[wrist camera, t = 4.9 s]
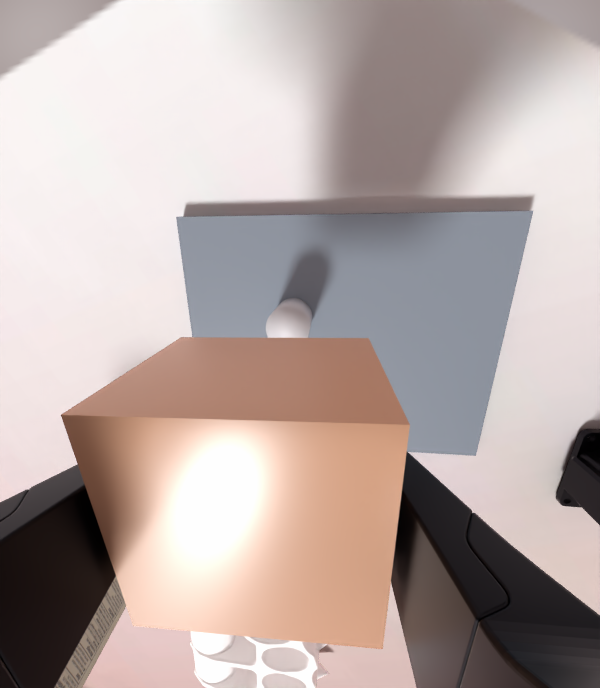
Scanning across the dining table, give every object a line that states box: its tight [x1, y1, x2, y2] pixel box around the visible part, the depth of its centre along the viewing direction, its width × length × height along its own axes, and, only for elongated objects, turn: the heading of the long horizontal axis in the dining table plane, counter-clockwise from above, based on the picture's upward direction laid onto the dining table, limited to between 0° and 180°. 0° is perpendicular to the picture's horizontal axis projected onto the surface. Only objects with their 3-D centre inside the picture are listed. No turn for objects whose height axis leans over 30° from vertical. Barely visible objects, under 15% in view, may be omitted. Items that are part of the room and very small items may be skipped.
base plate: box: [176, 211, 533, 456], centre depth 18 cm, size 20×16×4 cm
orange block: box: [61, 337, 410, 649], centre depth 8 cm, size 6×6×4 cm
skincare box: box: [55, 577, 126, 688], centre depth 21 cm, size 6×4×12 cm
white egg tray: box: [190, 631, 329, 688], centre depth 30 cm, size 3×18×15 cm
